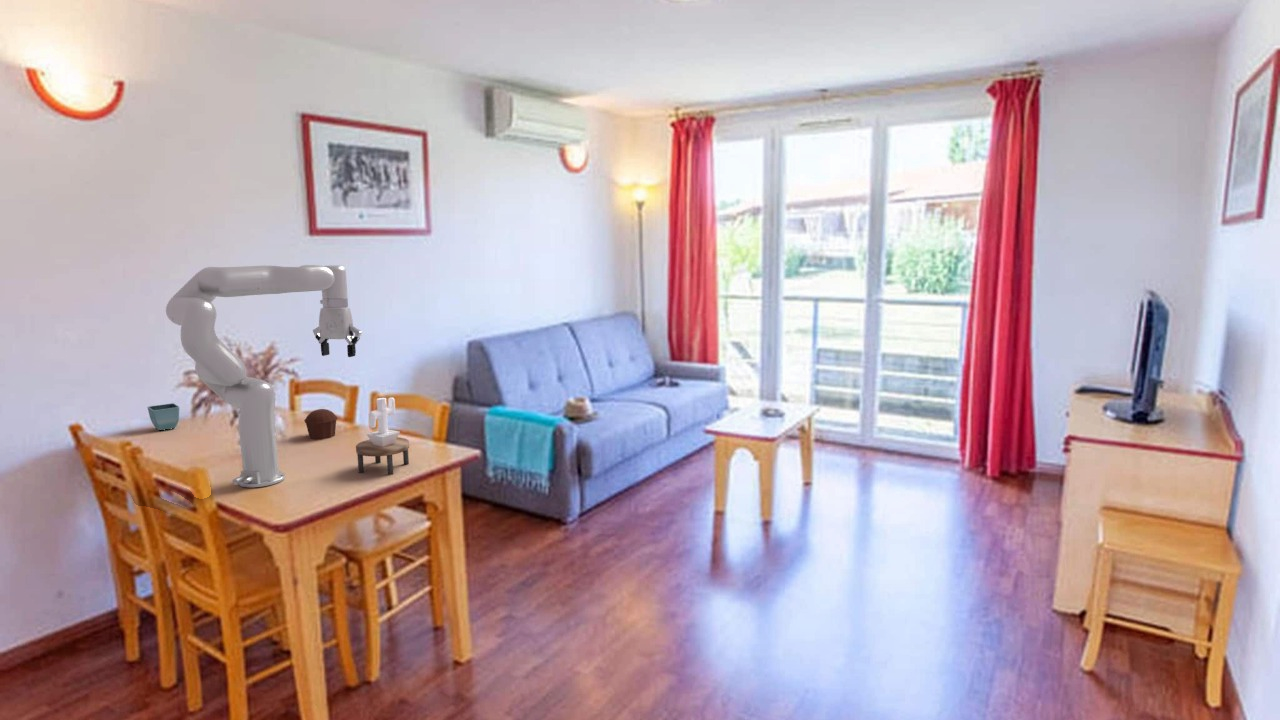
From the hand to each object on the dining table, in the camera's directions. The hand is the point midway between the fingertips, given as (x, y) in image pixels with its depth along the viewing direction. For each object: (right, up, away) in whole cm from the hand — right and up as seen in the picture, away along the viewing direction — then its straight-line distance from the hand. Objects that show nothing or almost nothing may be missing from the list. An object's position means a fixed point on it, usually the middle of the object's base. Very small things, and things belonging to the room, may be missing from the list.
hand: (338, 355), depth 230 cm
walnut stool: (+17, -36, -4) cm, 40 cm away
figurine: (+17, -28, -6) cm, 34 cm away
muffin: (-20, -30, +32) cm, 48 cm away
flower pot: (-84, -28, +41) cm, 98 cm away
